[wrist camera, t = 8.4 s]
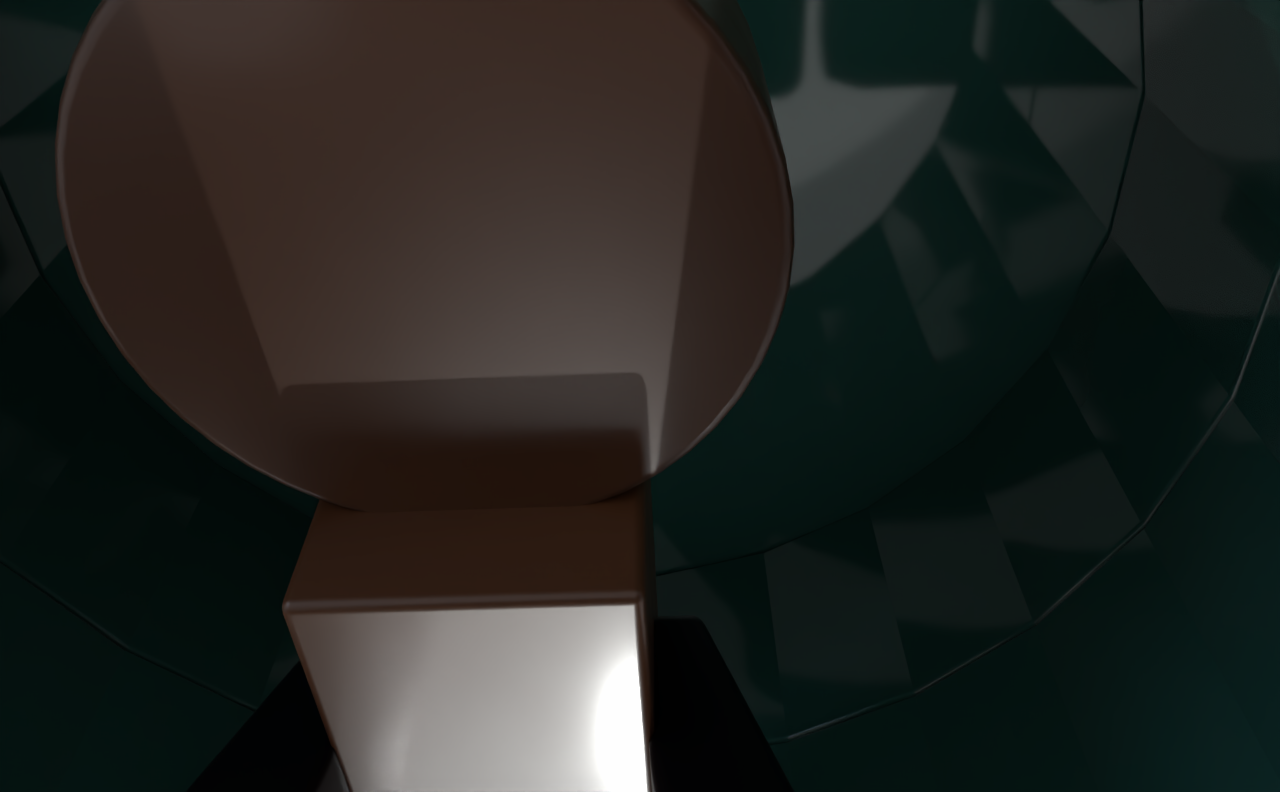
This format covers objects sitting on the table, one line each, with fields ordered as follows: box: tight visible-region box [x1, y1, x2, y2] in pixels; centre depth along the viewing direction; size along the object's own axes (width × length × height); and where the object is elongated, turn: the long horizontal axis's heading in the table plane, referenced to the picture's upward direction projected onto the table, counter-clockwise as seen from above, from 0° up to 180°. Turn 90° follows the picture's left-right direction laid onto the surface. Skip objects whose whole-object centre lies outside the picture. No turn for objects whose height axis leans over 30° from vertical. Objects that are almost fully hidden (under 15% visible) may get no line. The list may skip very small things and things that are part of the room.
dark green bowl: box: [0, 0, 1280, 792], centre depth 10 cm, size 15×15×8 cm
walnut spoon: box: [55, 0, 795, 792], centre depth 8 cm, size 10×4×2 cm, turn 3°
